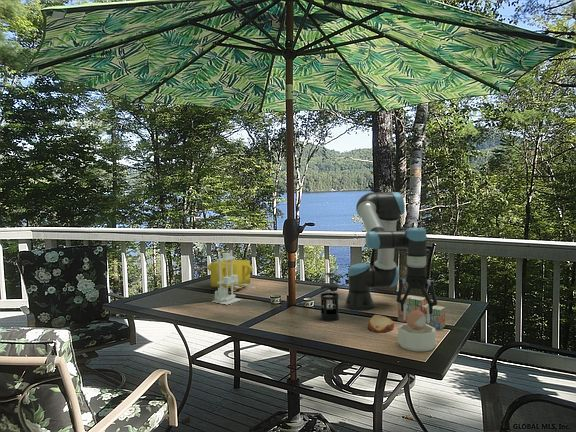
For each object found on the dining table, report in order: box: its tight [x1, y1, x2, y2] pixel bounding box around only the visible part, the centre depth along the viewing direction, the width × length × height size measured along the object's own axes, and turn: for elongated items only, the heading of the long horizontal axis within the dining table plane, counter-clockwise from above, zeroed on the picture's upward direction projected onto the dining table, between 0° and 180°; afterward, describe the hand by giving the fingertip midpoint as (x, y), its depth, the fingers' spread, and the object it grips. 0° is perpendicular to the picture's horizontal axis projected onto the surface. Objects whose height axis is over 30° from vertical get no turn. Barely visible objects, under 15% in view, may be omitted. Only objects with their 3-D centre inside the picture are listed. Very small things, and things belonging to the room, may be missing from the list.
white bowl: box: [397, 322, 436, 353], centre depth 173 cm, size 14×14×7 cm
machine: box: [211, 249, 256, 306], centre depth 242 cm, size 29×12×30 cm, turn 55°
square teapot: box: [206, 257, 253, 290], centre depth 282 cm, size 35×30×21 cm
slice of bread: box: [368, 314, 395, 334], centre depth 199 cm, size 18×18×4 cm
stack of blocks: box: [397, 293, 446, 330], centre depth 201 cm, size 21×6×12 cm, turn 48°
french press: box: [320, 272, 340, 322], centre depth 211 cm, size 12×9×23 cm
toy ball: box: [407, 310, 426, 330], centre depth 173 cm, size 8×8×8 cm
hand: (416, 320), depth 173 cm, fingers open, 8 cm apart
